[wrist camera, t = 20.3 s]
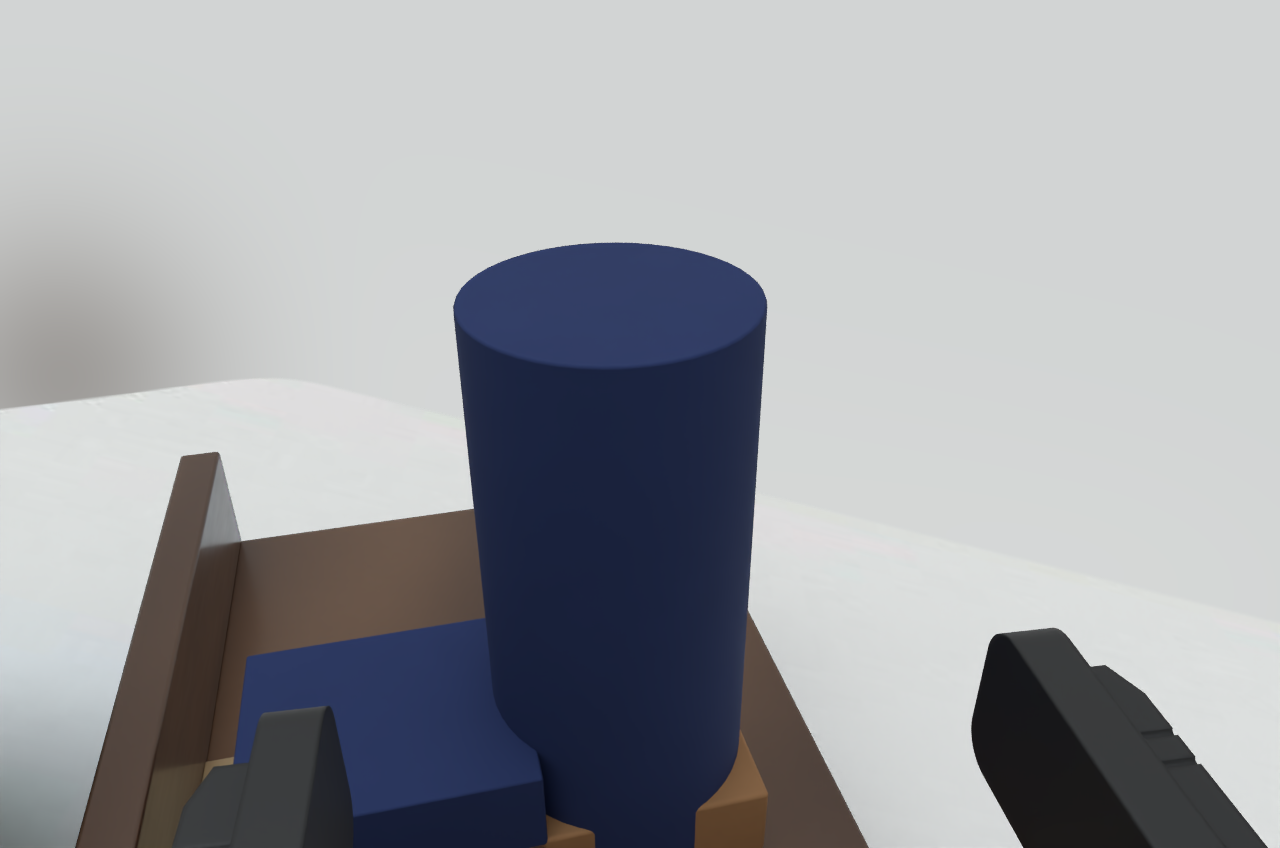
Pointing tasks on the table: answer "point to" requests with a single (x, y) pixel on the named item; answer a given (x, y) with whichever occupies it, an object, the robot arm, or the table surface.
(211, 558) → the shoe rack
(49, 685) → the table surface
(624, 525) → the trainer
